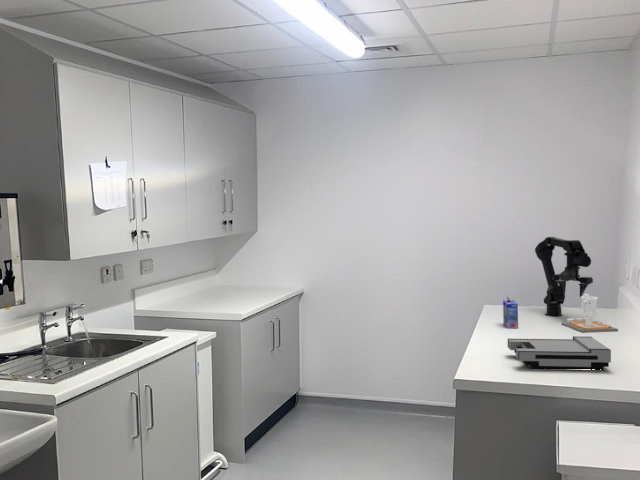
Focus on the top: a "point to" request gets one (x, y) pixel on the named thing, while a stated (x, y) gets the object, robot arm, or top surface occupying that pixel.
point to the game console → (561, 353)
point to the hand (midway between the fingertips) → (572, 295)
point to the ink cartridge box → (510, 313)
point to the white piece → (588, 308)
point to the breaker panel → (580, 326)
